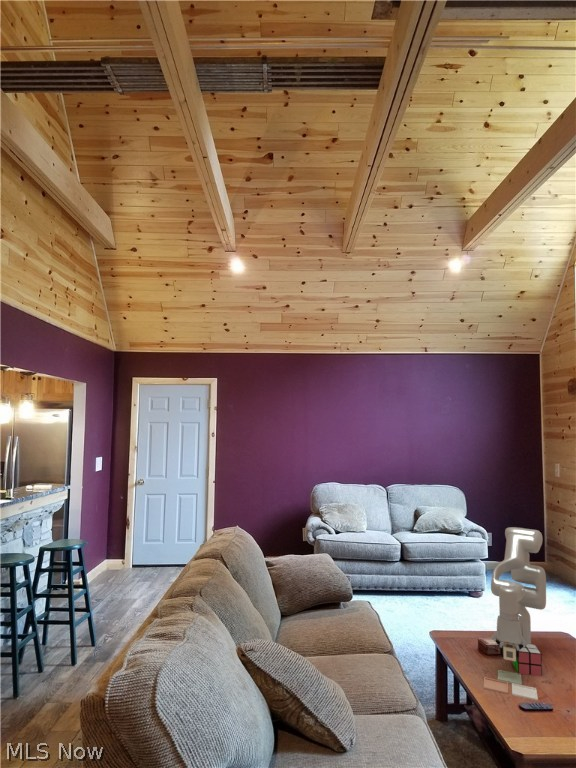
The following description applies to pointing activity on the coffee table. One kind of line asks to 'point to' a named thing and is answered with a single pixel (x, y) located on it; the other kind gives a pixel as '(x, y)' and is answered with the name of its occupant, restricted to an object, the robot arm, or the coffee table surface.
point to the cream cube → (509, 651)
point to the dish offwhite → (524, 691)
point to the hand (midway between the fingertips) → (509, 656)
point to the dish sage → (509, 677)
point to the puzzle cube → (529, 661)
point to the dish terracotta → (496, 685)
